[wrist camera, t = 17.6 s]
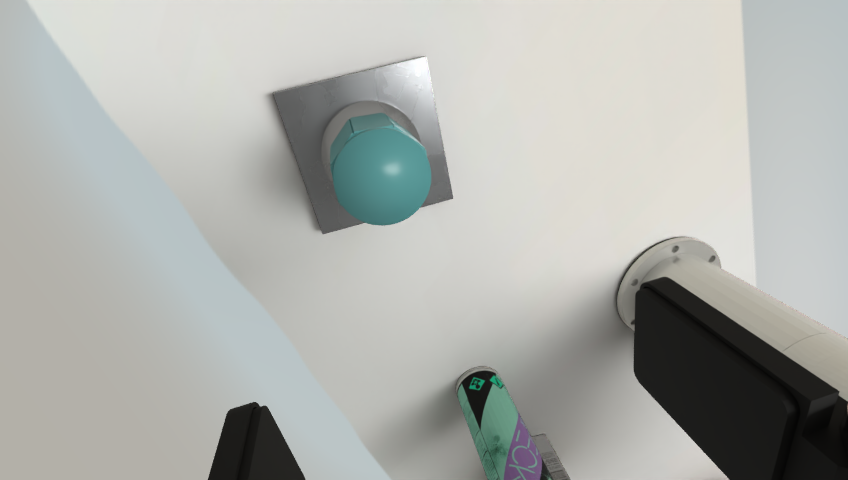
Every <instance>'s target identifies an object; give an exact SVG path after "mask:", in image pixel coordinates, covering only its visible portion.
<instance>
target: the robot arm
mask: <svg viewBox="0 0 848 480" xmlns="http://www.w3.org/2000/svg"><path fill="white" fill-rule="evenodd" d="M617 306H618V312H619V314H620V317H621V319H622V320H623V321H624V323H625V324H626V325H627V326H629V327H630V328H631V329H632V330H633V331H635V332H634V373H635V376H636V378H637V380H638V381H639V383H640V384H641V385H642V386H643V387H644V388H645V389H646V390H647V391H648V393H649V394H650V395H651V396H652V397H653V398H654V399H655V400H656V401H657V402H658V403H659V404H660V405H661V406H662V408H663V409H664V410H665V411H666V412H667V413H668V414H669V415H670V416H671V417H672V418H673V419H674V420H675V421H676V423H677V424H678V425H679V426H680V427H681V428H682V429H683V430H684V431H685V432H686V433H687V434H688V435H689V436H690V438H691V439H692V440H693V441H694V442H695V443H696V444H697V445H698V446H699V447H700V448H701V449H702V450H703V452H704V453H705V454H706V455H707V456H708V457H709V458H710V459H711V460H712V461H713V462H714V463H715V464H716V465H717V467H718V468H719V469H720V470H721V471H722V472H723V473H724V474H725V475H726V476H727V477H728V478H729V479H730V480H848V339H847V338H846V337H844V336H842V335H840V334H838V333H836V332H835V331H833V330H831V329H829V328H827V327H826V326H824V325H822V324H820V323H819V322H817V321H815V320H813V319H811V318H809V317H808V316H806V315H804V314H802V313H801V312H799V311H797V310H795V309H793V308H791V307H789V306H788V305H786V304H784V303H783V302H781V301H779V300H777V299H775V298H773V297H772V296H770V295H768V294H766V293H764V292H763V291H761V290H759V289H757V288H755V287H754V286H752V285H750V284H748V283H746V282H745V281H743V280H741V279H739V278H737V277H736V276H734V275H732V274H730V273H728V272H727V271H725V270H723V269H721V263H720V259H719V257H718V255H717V252H716V251H715V250H714V249H713V248H712V247H711V246H709V245H708V244H706V243H704V242H702V241H700V240H698V239H695V238H689V237H681V238H674V239H670V240H667V241H664V242H662V243H660V244H657V245H656V246H654V247H653V248H651V249H649V250H648V251H646V252H645V253H644V254H643V255H642V256H640V257H639V258H638V259H637V260H636V262H635V263H634V264H633V265H632V266H631V267H630V269H629V270H628V272H627V273H626V275H625V277H624V279H623V281H622V283H621V285H620V288H619V292H618V298H617ZM208 480H305V477H304V475H303V473H302V471H301V469H300V468H299V466H298V464H297V462H296V460H295V458H294V456H293V454H292V452H291V450H290V449H289V447H288V445H287V443H286V441H285V439H284V437H283V435H282V433H281V431H280V430H279V428H278V426H277V424H276V422H275V420H274V418H273V416H272V415H271V412H270V411H269V409H268V407H267V406H262V407H260V406H259V404H258V403H256V402H253V403H249V404H246V405H243V406H240V407H236V408H233V409H230V410H229V411H228V413H227V416H226V419H225V423H224V426H223V429H222V433H221V436H220V439H219V443H218V446H217V450H216V453H215V457H214V460H213V464H212V468H211V471H210V474H209V478H208Z"/></svg>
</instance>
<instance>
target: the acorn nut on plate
mask: <svg viewBox="0 0 848 480" xmlns="http://www.w3.org/2000/svg"><path fill="white" fill-rule="evenodd" d="M273 95H274V97H275V100H276V103H277V106H278V109H279V112H280V114H281V117H282V120H283V123H284V126H285V129H286V131H287V134H288V137H289V140H290V143H291V146H292V148H293V151H294V154H295V157H296V160H297V163H298V165H299V168H300V171H301V174H302V177H303V180H304V182H305V185H306V188H307V191H308V194H309V197H310V199H311V202H312V205H313V208H314V211H315V214H316V216H317V219H318V222H319V225H320V228H321V231H322V234H326V233H329V232H333V231H337V230H340V229H344V228H348V227H351V226H355V225H359V224H362V223H365V222H362V221H360V220H358V219H356V218H355V217H353V216H352V215H351V214H349V213H348V212H347V211H346V210H345V209H344V207H343V206H341V205H340V204H339V203H338V199H337V195H336V193H335V189H334V183H333V178H332V173H331V169H330V147H331V144H332V143H333V141H334V140H335V138H336V137H337V135H338V134H339V132H340V131H341V129H342V128H343V126H344V125H345V123H346V122H347V120H348V119H350V118H352V117H358V116H364V115H370V114H376V113H383V114H384V113H385V114H386V115H387V116H389V117H390V118H391V119H393V120H394V121H395V122H397V123H398V124H399V125H401V126H402V127H403V128H405V129H406V130H407V131H409V132H410V133H411V134H412V135H413V136H414V137H415V138H416V139H417V140H418V141H419V142H420V143H421V144H422V145H423V146H424V147H425V149H426V153H427V158H428V161H429V164H430V169H431V186H430V190H429V193H428V195H427V197H426V199H425V201H424V203H423V204H422V206H421V207H424V206H428V205H432V204H435V203H439V202H443V201H446V200H450V199H453V195H452V189H451V184H450V179H449V173H448V168H447V163H446V157H445V152H444V147H443V142H442V136H441V131H440V126H439V120H438V115H437V110H436V105H435V99H434V94H433V89H432V83H431V78H430V73H429V67H428V62H427V57H426V56H423V57H419V58H415V59H410V60H406V61H402V62H398V63H394V64H389V65H385V66H381V67H377V68H373V69H369V70H364V71H360V72H356V73H352V74H348V75H343V76H339V77H335V78H331V79H327V80H323V81H318V82H314V83H310V84H306V85H302V86H298V87H293V88H289V89H285V90H281V91H277V92H274V93H273ZM421 207H420V208H421Z"/></svg>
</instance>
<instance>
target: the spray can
mask: <svg viewBox="0 0 848 480" xmlns="http://www.w3.org/2000/svg"><path fill="white" fill-rule="evenodd" d="M456 393H457V397H458V399H459V402H460V405H461V408H462V410H463V413H464V416H465V418H466V421H467V424H468V427H469V429H470V432H471V435H472V438H473V440H474V443H475V446H476V448H477V451H478V454H479V457H480V459H481V462H482V465H483V468H484V470H485V473H486V476H487V478H488V480H553V478H552V476H551V474H550V472H549V470H548V468H547V466H546V465H545V463H544V461H543V459H542V457H541V455H540V453H539V451H538V449H537V447H536V445H535V443H534V441H533V439H532V438H531V436H530V434H529V432H528V430H527V428H526V426H525V424H524V422H523V420H522V418H521V416H520V414H519V413H518V411H517V409H516V407H515V405H514V403H513V401H512V399H511V397H510V395H509V393H508V391H507V389H506V388H505V386H504V384H503V382H502V380H501V378H500V376H499V375H498V373H497V372H496V371H495V370H494V369H492V368H490V367H484V366H482V367H476V368H473V369H470V370H468V371H467V372H465V373H464V374H463V375H462V376H461V377H460V378H459V380H458V381H457V384H456Z"/></svg>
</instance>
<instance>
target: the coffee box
mask: <svg viewBox="0 0 848 480" xmlns="http://www.w3.org/2000/svg"><path fill="white" fill-rule="evenodd" d="M531 438H532V439H533V441H534V443H535V445H536V447H537V449H538V451H539V453H540V455H541V457H542V459H543V461H544V463H545V465H546V466H547V468H548V470H549V472H550V474H551V476H552V478H553V480H570V478H569V476H568V474H567V473H566V471H565V469H564V467H563V465H562V463H561V462H560V460H559V458H558V456H557V455H556V453H555V451H554V449H553V447H552V446H551V444H550V442H549V440H548V439H547V437H546V435H545V434H542V435H538V436H534V437H531Z"/></svg>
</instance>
